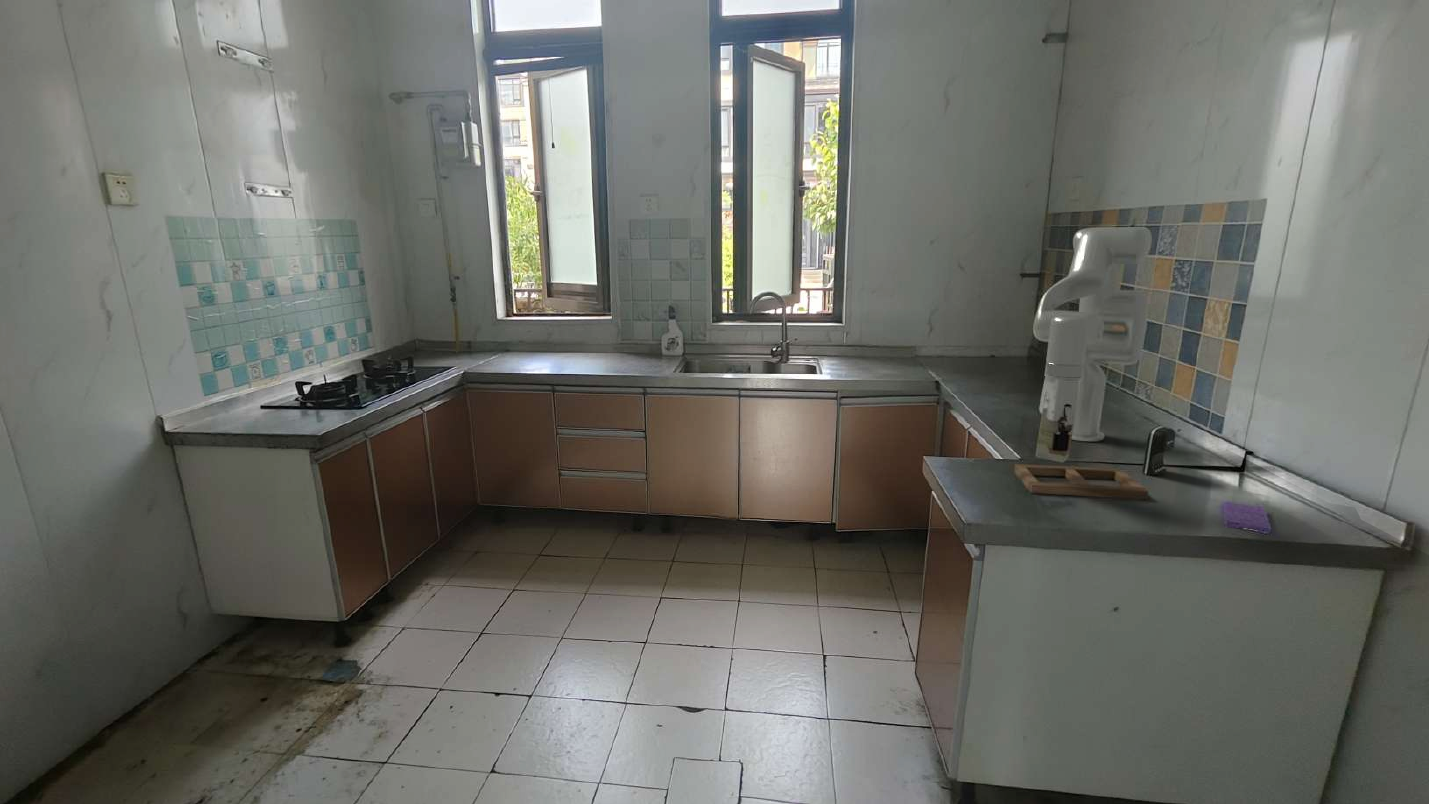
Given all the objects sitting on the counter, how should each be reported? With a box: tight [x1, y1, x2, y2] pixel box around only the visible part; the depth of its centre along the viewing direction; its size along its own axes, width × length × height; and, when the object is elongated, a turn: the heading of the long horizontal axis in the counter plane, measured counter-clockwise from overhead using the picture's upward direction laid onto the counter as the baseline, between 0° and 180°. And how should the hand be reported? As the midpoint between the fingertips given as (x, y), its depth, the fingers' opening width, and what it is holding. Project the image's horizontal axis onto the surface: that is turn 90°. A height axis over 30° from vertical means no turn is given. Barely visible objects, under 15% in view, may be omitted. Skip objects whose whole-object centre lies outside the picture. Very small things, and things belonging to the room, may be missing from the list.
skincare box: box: [1035, 407, 1075, 464], centre depth 146 cm, size 6×4×12 cm
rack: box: [1013, 463, 1149, 500], centre depth 148 cm, size 14×24×2 cm, turn 80°
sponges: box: [1221, 500, 1272, 534], centre depth 129 cm, size 7×13×2 cm, turn 144°
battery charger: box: [1142, 426, 1176, 476], centre depth 154 cm, size 7×4×11 cm, turn 124°
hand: (1054, 444), depth 147 cm, fingers closed on skincare box, 6 cm apart
